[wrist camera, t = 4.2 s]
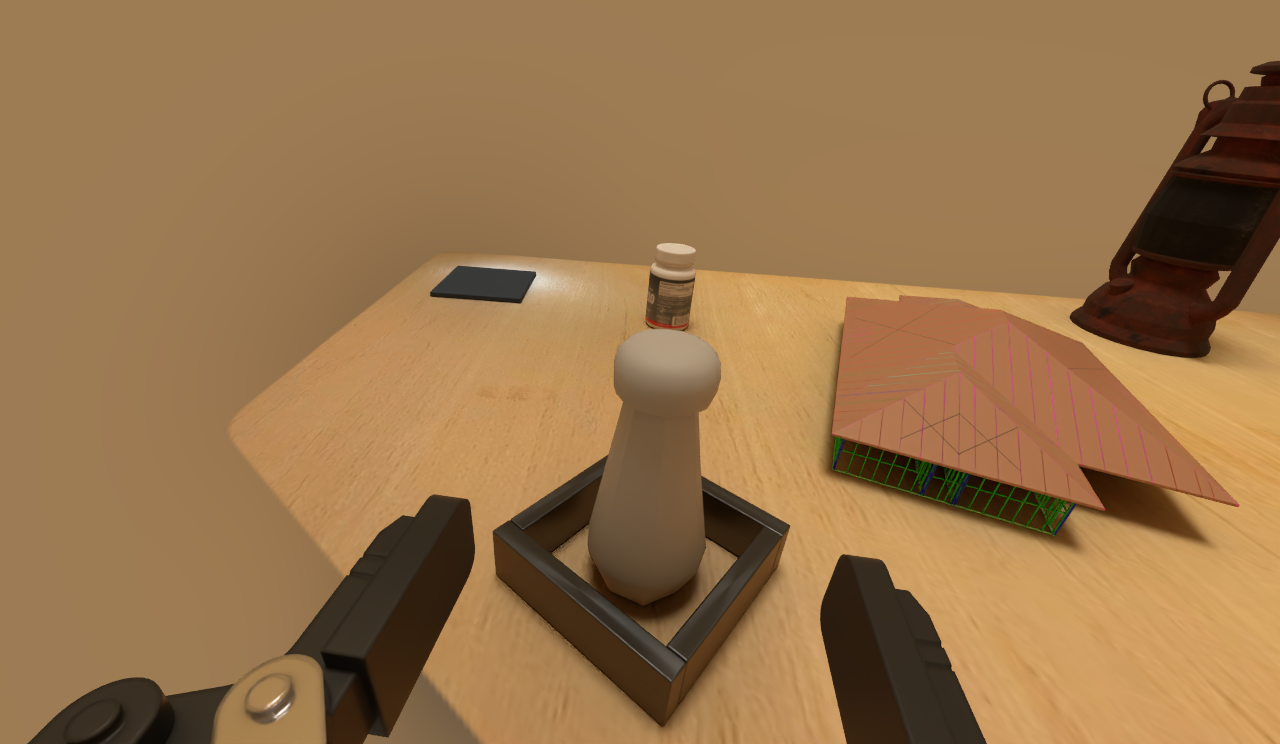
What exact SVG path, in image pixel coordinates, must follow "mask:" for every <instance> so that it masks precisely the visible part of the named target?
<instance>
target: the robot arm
mask: <svg viewBox="0 0 1280 744" xmlns="http://www.w3.org/2000/svg"><path fill="white" fill-rule="evenodd" d="M474 555H475V543H474V534H473V525H472V516H471V507H470V502H469V500H468V499H463V498H456V497H449V496H442V495H435V494H434V495H432V496H430V497H429V498H428V499H427V500H426V502H425V503H424V505H423V506H422V507H421V509H420V510H419V512H418V513H417V515H416V516H415V517H410V516H401V517H400V518H399V519H397V520H396V521H394V522H393V523H392V524H390V525H389V526H388V527H386V528H385V529H383V530H382V531H381V532H379V534H378V535H377V536H376V538H375V539H374V540H373V542H372V543H371V544H370V546H369V547H368V548H367V550H366V551H365V552H364V555H363V557H362V558H360V559H359V560H358V561H357V563H356V564H355V565H354V567H353V568H352V569H351V571H350V574H349V576H346V577H345V578H344V580H343V581H342V582H341V584H340V585H339V586H338V588H337V589H336V590H335V592H334V593H333V594H332V596H331V597H330V598H329V600H328V601H327V602H326V603H325V605H324V606H323V608H322V609H321V610H320V611H319V613H318V614H317V615H316V617H315V618H314V619H313V621H312V622H311V623H310V624H309V626H308V627H307V628H306V630H305V631H304V632H303V634H302V635H301V636H300V638H299V639H298V640H297V642H296V643H295V644H294V645H293V646H292V648H291V649H290V650H289V651H288V652H287V653H286V654H285V655H284V656H280V657H277V658H274V659H271V660H269V661H266V662H264V663H262V664H260V665H259V666H257V667H255V668H254V669H252V670H251V671H249V672H248V673H247V674H245V675H244V676H243V677H242V678H241V679H239V680H238V681H237V682H236V683H235V684H231V685H227V686H223V687H216V688H211V689H204V690H199V691H193V692H187V693H181V694H175V695H169V696H165V695H164V693H163V692H162V690H161V689H160V687H159V686H158V685H157V684H156V683H155V682H154V681H152V680H150V679H146V678H127V679H122V680H119V681H115V682H112V683H109V684H106V685H104V686H101V687H99V688H97V689H95V690H93V691H91V692H89V693H87V694H86V695H84V696H82V697H81V698H79V699H77V700H76V701H75V702H73V703H71V704H70V705H69V706H67V707H66V708H65V709H64V710H62V711H61V712H60V713H59V714H58V715H56V716H55V717H54V718H53V719H52V720H51V721H50V722H49V723H48V724H47V725H46V726H45V727H44V728H43V729H42V730H41V731H40V732H39V733H38V734H37V735H36V736H35V737H34V738H33V739H32V740H31V741H30V742H29V743H28V744H363V742H364V740H365V739H366V737H367V735H368V734H371V735H377V736H383V737H389V735H390V733H391V731H392V729H393V727H394V725H395V723H396V721H397V719H398V717H399V715H400V713H401V711H402V709H403V707H404V705H405V703H406V701H407V699H408V697H409V695H410V693H411V691H412V689H413V687H414V685H415V683H416V681H417V679H418V677H419V675H420V673H421V671H422V669H423V667H424V665H425V663H426V661H427V659H428V657H429V655H430V653H431V651H432V649H433V647H434V645H435V643H436V641H437V639H438V637H439V635H440V633H441V631H442V629H443V627H444V625H445V623H446V621H447V619H448V617H449V615H450V613H451V611H452V609H453V607H454V605H455V603H456V601H457V599H458V597H459V595H460V593H461V591H462V589H463V587H464V585H465V583H466V581H467V579H468V577H469V574H470V572H471V569H472V565H473V561H474ZM820 622H821V631H822V636H823V641H824V645H825V649H826V654H827V658H828V663H829V667H830V672H831V676H832V680H833V685H834V689H835V694H836V698H837V702H838V707H839V711H840V716H841V720H842V724H843V729H844V733H845V738H846V742H847V744H987V743H986V741H985V739H984V737H983V734H982V732H981V730H980V728H979V725H978V723H977V721H976V719H975V717H974V714H973V712H972V710H971V708H970V705H969V703H968V701H967V699H966V696H965V694H964V692H963V690H962V687H961V685H960V683H959V681H958V678H957V676H956V674H955V672H954V671H952V669H951V666H952V665H951V663H950V661H949V658H948V656H947V654H946V652H945V649H944V648H942V647H941V640H940V638H939V636H938V634H937V631H936V629H935V627H934V625H933V622H932V620H931V618H930V616H929V614H928V613H927V612H926V611H925V610H924V609H923V607H922V606H921V605H920V604H919V603H918V601H917V600H916V599H915V598H914V597H913V596H912V594H911V593H910V592H909V591H907V590H900V589H895V587H894V585H893V582H892V580H891V577H890V575H889V572H888V570H887V567H886V565H885V564H884V562H883V561H882V560H880V559H873V558H866V557H859V556H852V555H845V554H843V555H841V556H840V558H839V560H838V562H837V565H836V567H835V570H834V572H833V575H832V577H831V580H830V583H829V585H828V588H827V590H826V593H825V595H824V598H823V601H822V605H821V613H820Z"/></svg>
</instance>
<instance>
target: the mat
mask: <svg viewBox="0 0 1280 744" xmlns="http://www.w3.org/2000/svg"><path fill="white" fill-rule="evenodd" d="M535 276H536V272H531V271H519V270H506V269H493V268H480V267H467V266H457V267H456V268H455V269H454V270H453V271H452V272H451V273H450V274H449V275H448V276H447V277H446V278H445V279H444V280H442V281H441V282H440V283H439V284H438V285H437V286H436V287H435V288H434V289H433V290H432V291H431V292H430V294H431V296H437V297H450V298H463V299H477V300H490V301H504V302H517V303H521V301H522V299H523V297H524V296H525V294H526V292H527V290H528V288H529V287H530V285H531V283H532V281H533V279H534V278H535Z"/></svg>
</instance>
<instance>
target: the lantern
mask: <svg viewBox="0 0 1280 744" xmlns="http://www.w3.org/2000/svg"><path fill="white" fill-rule="evenodd" d="M1250 73H1253V74H1259V75H1266V76H1264V77H1262V79H1261V86H1254V87H1245V88H1244V90H1243V91H1242V93H1241V95H1240V96H1239V98H1235V97H1234V96H1235V88H1234V86H1233V84H1232V83H1230V82H1229V81H1226V80H1219V81H1216V82H1214V83H1212V84H1211V85H1210V86H1209V87H1208V88H1207V89H1206V91H1205V93H1204V96H1203V103H1204V105H1205V108H1203V110H1201V111H1200V112H1199V115H1198V118H1197V121H1196V125H1195V128H1194V130H1193V131H1192V133H1191V135H1190V136H1189V138H1188V139H1187V141H1186V143H1185V144H1184V146H1183V148H1182V149H1181V151H1180V152H1179V154H1178V156H1177V157H1176V159H1175V160H1174V162H1173V164H1172V165H1171V167H1170V168H1169V170H1168V172H1167V173H1166V175H1165V176H1164V178H1163V180H1162V181H1161V183H1160V184H1159V186H1158V188H1157V189H1156V191H1155V193H1154V194H1153V196H1152V197H1151V199H1150V201H1149V202H1148V204H1147V205H1146V207H1145V209H1144V210H1143V212H1142V213H1141V215H1140V217H1139V218H1138V220H1137V222H1136V223H1135V225H1134V226H1133V228H1132V229H1131V231H1130V233H1129V234H1128V236H1127V238H1126V239H1125V241H1124V242H1123V244H1122V246H1121V247H1120V249H1119V250H1118V252H1117V253H1116V255H1115V257H1114V258H1113V260H1112V262H1111V265H1110V269H1109V280H1110V281H1109V282H1107V283H1105V284H1103V285H1102V286H1101V287H1099V288H1098V289H1097V290H1095V291H1094V292H1093V293H1092V294H1091V295H1089V296H1088V298H1087V299H1086V301H1085V303H1084V305H1083V306H1082V307H1080V308H1078V309H1076V310H1074V311H1073V312H1072V313H1071V315H1070V318H1071V320H1072V322H1074V323H1075V324H1077V325H1078V326H1079V327H1081V328H1083V329H1085V330H1087V331H1089V332H1091V333H1093V334H1095V335H1098V336H1101V337H1104V338H1106V339H1109V340H1112V341H1114V342H1118V343H1121V344H1124V345H1128V346H1131V347H1134V348H1138V349H1142V350H1147V351H1151V352H1155V353H1160V354H1166V355H1172V356H1178V357H1195V358H1197V357H1202V356H1206V355H1207V354H1208V353H1209V352H1210V348H1211V347H1210V344H1209V340H1208V339H1209V337H1210V336H1211V334H1212V333H1213V331H1214V330H1215V326H1216V320H1218V319H1220V318H1222V317H1224V316H1226V315H1228V314H1229V313H1230V312H1231V311H1233V310H1234V309H1235V308H1236V307H1237V306H1238V305H1239V304H1240V302H1241V300H1242V299H1243V297H1244V295H1245V294H1246V292H1247V290H1248V289H1249V287H1250V285H1251V284H1252V282H1253V281H1254V279H1255V277H1256V276H1257V274H1258V272H1259V271H1260V269H1261V268H1262V266H1263V264H1264V263H1265V261H1266V259H1267V258H1268V256H1269V254H1270V253H1271V251H1272V250H1273V248H1274V246H1275V245H1276V243H1277V241H1278V240H1279V238H1280V61H1273V62H1267V63H1265V64H1261V65H1258V66H1255V67H1253V68H1252V70H1251V71H1250ZM1221 83H1222V84H1225V85H1227V86H1228V87H1229V89H1230V97H1228V98H1226V99H1224V100H1218V101H1213V102H1210V103H1208V93H1209V91H1210V90H1211V88H1212V87H1213V86H1215V85H1217V84H1221ZM1211 136H1212V137H1217V139H1216V141H1215V143H1214V145H1213V147H1212V149H1211V150H1209V151H1206V152H1203V153H1201V151H1202V150H1203V148H1204V146H1205V145H1206V143H1207V142H1208V140H1209V139H1210V137H1211ZM1136 253H1137V254H1139V255H1141V256H1139V257H1137V258H1136V259H1133V260H1132V258H1133V256H1134V255H1135V254H1136ZM1131 260H1132V261H1131ZM1130 261H1131V270H1130V273H1129V274H1127V266H1128V264H1129V263H1130ZM1218 271H1231V273H1230V275H1229V276H1228V278H1227V280H1226V282H1225V283H1224V285H1223V287H1222V288H1221V290H1220V292H1219V293H1218V296H1217V297H1216V299H1215V300H1214V301H1211V299H1210V297H1209V295H1208V293H1207V291H1206V289H1208V288H1209V287H1210V286H1211V285H1213V284H1214V283H1215V282H1216V281H1218V280H1219V279H1220V277H1219V273H1218Z"/></svg>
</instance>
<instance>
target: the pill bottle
mask: <svg viewBox="0 0 1280 744" xmlns="http://www.w3.org/2000/svg"><path fill="white" fill-rule="evenodd" d="M695 252H696V250H695V249H694V248H692V247H690V246H687V245H682V244H675V243H664V244H659V245H658V246H657V249H656V255H655V260H656V261H657V262H655V263H653V264H652V266H651V269H650V278H649V289H648V298H647V309H646V322H647V324H648V325H649V326H651V327H653V328H655V329H670V330H677V331H680V330H683V329H685V328H686V327H687V326H688V323H689V316H690V309H691V302H692V295H693V288H694V282H695V275H696V271H695V269H694V267H692V265H693V264H694V261H695Z"/></svg>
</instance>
